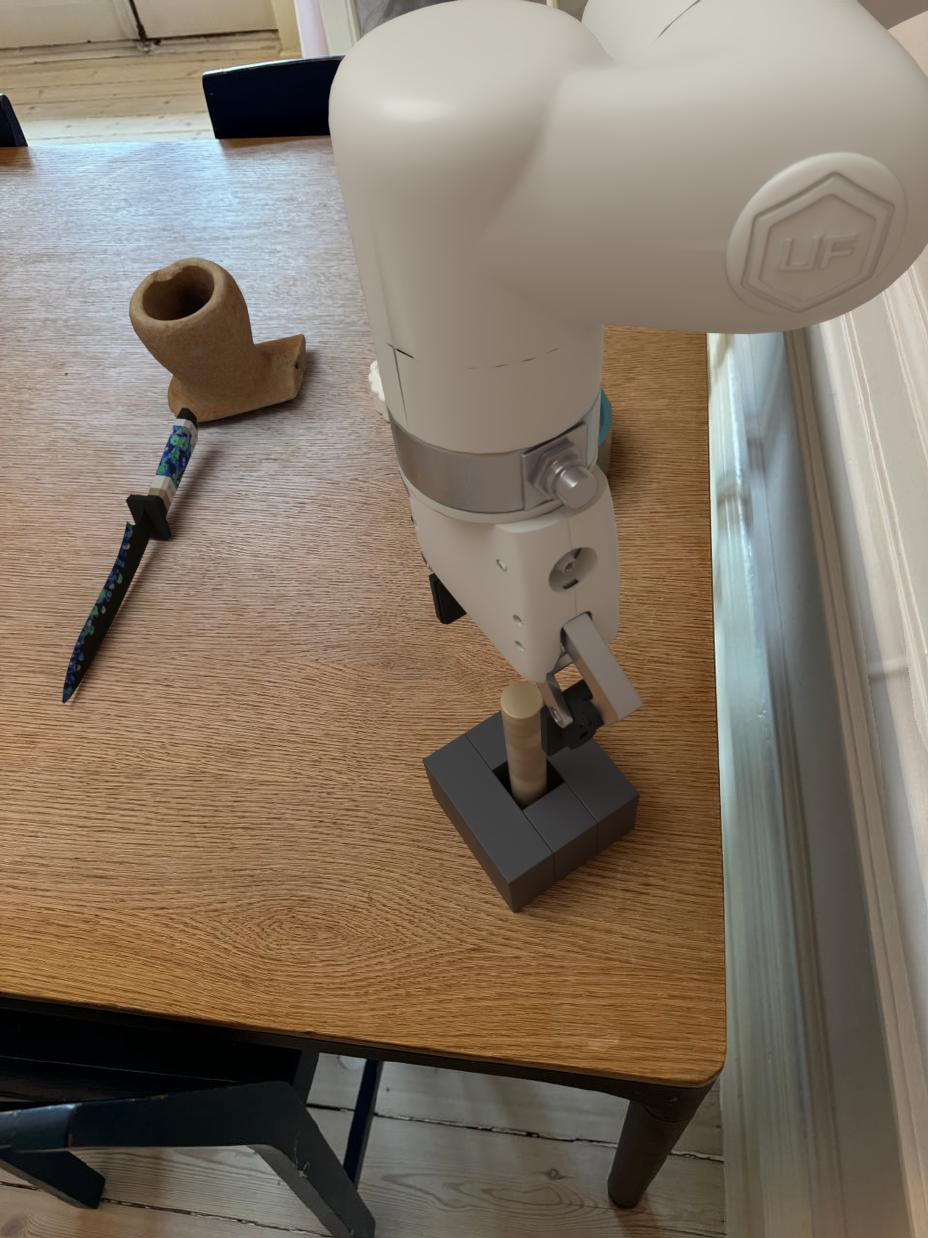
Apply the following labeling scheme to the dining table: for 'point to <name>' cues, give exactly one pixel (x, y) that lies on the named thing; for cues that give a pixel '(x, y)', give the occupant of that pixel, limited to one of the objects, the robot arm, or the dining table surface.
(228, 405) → the brown hollow clay piece
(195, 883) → the dining table surface
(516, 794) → the stick
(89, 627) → the knife
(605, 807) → the holder
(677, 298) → the robot arm
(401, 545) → the dining table surface
